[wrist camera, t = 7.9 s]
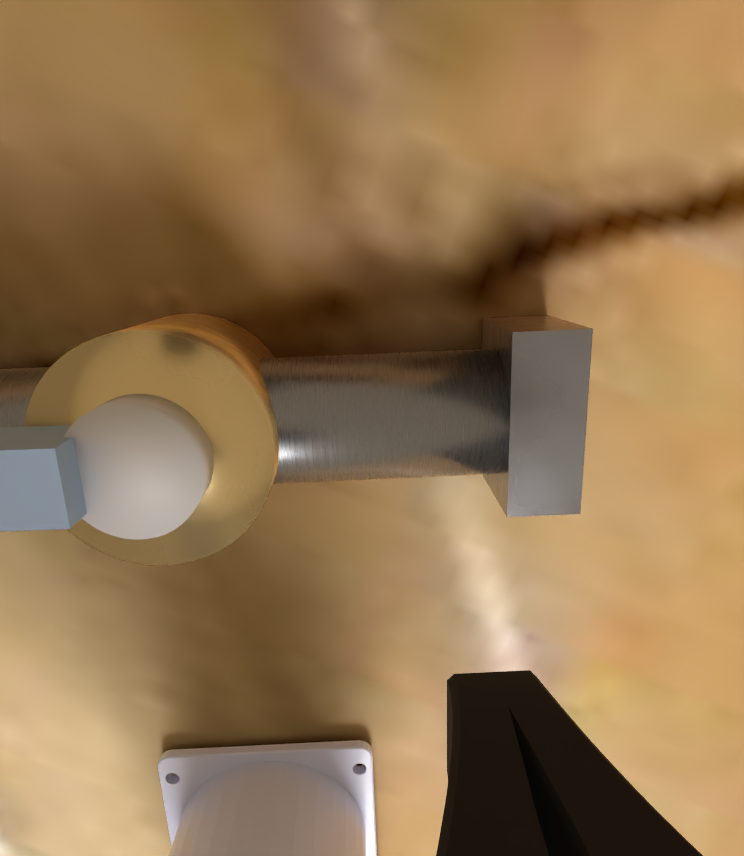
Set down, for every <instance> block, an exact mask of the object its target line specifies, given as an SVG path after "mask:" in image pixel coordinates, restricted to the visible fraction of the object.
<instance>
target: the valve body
mask: <svg viewBox="0 0 744 856" xmlns="http://www.w3.org/2000/svg"><path fill="white" fill-rule="evenodd" d="M592 333H593V329H592V328H588V327H585V326H581V325H578V324H575V323H571V322H568V321H565V320H561V319H558V318H555V317H551V316H548V315H544V316H519V317H494V318H483V321H482V349H476V350H451V351H427V352H403V353H379V354H354V355H330V356H306V357H282V358H276V357H275V356H274V355H273V354H272V352H271V351H270V350H269V349H268V348H267V347H266V346H265V345H264V344H263V343H262V342H261V341H260V340H259V339H258V338H257V337H256V336H254V335H253V334H252V333H250V332H249V331H247V330H246V329H244V328H242V327H241V326H239V325H237V324H235V323H233V322H230V321H228V320H226V319H222V318H219V317H216V316H212V315H205V314H196V313H184V314H175V315H170V316H166V317H162V318H159V319H155V320H152V321H149V322H145V323H142V324H139V325H135V326H132V327H129V328H126V329H122V330H119V331H116V332H112V333H109V334H106V335H102V336H99V337H96V338H94V339H91V340H89V341H86V342H84V343H82V344H80V345H78V346H77V347H75V348H73V349H71V350H70V351H68V352H67V353H66V354H64V355H63V356H62V357H61V358H59V359H58V360H57V361H56V362H55V363H54V364H53V365H52V366H51V367H39V368H15V369H0V428H2V427H32V426H62V425H72V424H73V423H74V422H75V421H76V420H77V419H79V418H80V417H81V416H83V415H84V414H86V413H88V412H90V411H91V410H93V409H95V408H97V407H98V406H100V405H102V404H104V403H105V402H107V401H109V400H111V399H114V398H116V397H119V396H123V395H127V394H149V395H155V396H159V397H162V398H165V399H168V400H170V401H172V402H174V403H176V404H178V405H180V406H181V407H182V408H184V409H185V410H187V411H188V412H189V413H190V414H191V415H192V416H193V417H194V418H195V419H196V420H197V421H198V422H199V424H200V425H201V426H202V428H203V429H204V431H205V432H206V435H207V437H208V439H209V441H210V444H211V447H212V452H213V459H214V467H213V475H212V479H211V482H210V485H209V487H208V489H207V491H206V493H205V494H204V496H203V497H202V499H201V501H200V502H199V504H198V505H197V507H196V508H195V510H194V511H193V513H192V514H191V515H190V517H189V518H188V519H187V520H186V521H185V522H184V523H183V524H182V525H180V526H179V527H177V528H176V529H175V530H173V531H171V532H169V533H167V534H164V535H162V536H159V537H155V538H150V539H141V540H136V539H125V538H119V537H116V536H112V535H109V534H107V533H104V532H102V531H100V530H98V529H96V528H94V527H93V526H91V525H90V524H88V523H87V522H86V521H85V520H83V519H82V518H81V519H80V520H79V521H78V522H77V523H76V524H75V525H74V526H73V527H72V528H71V529H67V530H68V531H70V532H71V533H72V534H73V535H75V536H76V537H77V538H78V539H80V540H81V541H83V542H85V543H86V544H88V545H89V546H91V547H93V548H95V549H97V550H99V551H101V552H103V553H105V554H107V555H110V556H112V557H115V558H118V559H121V560H125V561H129V562H133V563H138V564H146V565H176V564H184V563H188V562H192V561H197V560H200V559H202V558H205V557H208V556H211V555H213V554H214V553H216V552H218V551H220V550H222V549H224V548H225V547H227V546H228V545H230V544H231V543H233V542H234V541H236V540H237V539H238V538H239V537H240V536H241V535H242V534H243V533H244V532H245V531H246V530H247V529H248V528H249V527H250V525H251V524H252V523H253V522H254V521H255V519H256V518H257V516H258V514H259V513H260V511H261V509H262V508H263V506H264V503H265V501H266V499H267V496H268V494H269V491H270V489H271V486H272V484H277V483H299V482H322V481H344V480H367V479H390V478H412V477H435V476H458V475H480V474H482V475H483V476H484V478H485V480H486V482H487V483H488V485H489V487H490V489H491V490H492V492H493V494H494V495H495V497H496V499H497V501H498V502H499V504H500V506H501V507H502V509H503V511H504V513H505V514H506V516H507V517H519V516H541V515H563V514H580V510H581V495H582V480H583V466H584V451H585V436H586V422H587V407H588V392H589V377H590V363H591V348H592Z"/></svg>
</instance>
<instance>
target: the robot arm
mask: <svg viewBox="0 0 744 856" xmlns="http://www.w3.org/2000/svg"><path fill="white" fill-rule="evenodd" d="M359 763H360V764H364V765H362V766H357V765H356V764H359ZM158 773H159V778H160V784H161V790H162V795H163V801H164V807H165V812H166V818H167V824H168V829H169V835H170V841H171V847H172V848H171V851H170V854H169V856H377V844H376V823H375V801H374V780H373V758H372V748H371V746H370V745H369V744H368V743H367V742H365V741H361V740H353V741H333V742H313V743H293V744H273V745H253V746H233V747H213V748H194V749H174V750H168V751H165V752H164V753H163V754H162V755H161V757H160V759H159V762H158ZM171 773H175V774H177V775H173V774H171ZM447 773H448V789H447V796H446V803H445V808H444V814H443V820H442V826H441V832H440V838H439V844H438V850H437V855H436V856H703V855H702V854H701V853H700V852H698V851H697V850H696V849H695V848H694V847H693V846H692V845H691V844H690V843H689V842H688V841H687V840H686V839H685V838H684V837H683V836H682V835H681V834H680V833H679V832H678V831H677V830H676V829H675V828H674V827H673V826H672V825H671V824H669V823H668V822H667V821H666V820H665V819H664V818H663V817H662V816H661V815H660V814H659V813H658V812H657V811H656V810H655V809H654V808H653V807H652V806H651V805H650V804H649V803H648V802H647V801H646V800H645V798H644V797H643V796H642V795H641V794H640V793H639V792H638V791H637V790H636V789H635V788H634V787H633V786H632V785H631V784H630V783H629V782H628V781H627V780H626V779H625V778H624V776H623V775H622V774H621V773H620V772H619V771H618V770H617V769H616V768H615V767H614V766H613V765H612V764H611V763H610V761H609V760H608V759H607V758H606V757H605V756H604V755H603V754H602V753H601V752H600V751H599V750H598V748H597V747H596V746H595V745H594V744H593V743H592V742H591V741H590V739H589V738H588V737H587V736H586V735H585V734H584V733H583V731H582V730H581V729H580V728H579V727H578V726H577V725H576V723H575V722H574V721H573V720H572V719H571V718H570V716H569V715H568V714H567V713H566V712H565V711H564V709H563V708H562V707H561V706H560V705H559V703H558V702H557V701H556V700H555V699H554V698H553V696H552V695H551V694H550V693H549V691H548V690H547V689H546V688H545V687H544V685H543V684H542V683H541V682H540V681H539V679H538V678H537V677H536V676H535V675H534V674H533V673H532V672H531V671H530V670H529V671H508V672H487V673H466V674H454V675H453V676H451V677H450V678H449V679H448V680H447Z"/></svg>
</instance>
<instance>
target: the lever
mask: <svg viewBox="0 0 744 856" xmlns="http://www.w3.org/2000/svg"><path fill="white" fill-rule="evenodd" d="M213 467H214V459H213V452H212V447H211V444H210V441H209V439H208V437H207V435H206V432H205V431H204V429H203V428H202V426H201V425H200V424H199V422H198V421H197V420H196V419H195V418H194V417H193V416H192V415H191V414H190V413H189V412H188V411H187V410H185V409H184V408H182V407H181V406H180V405H178V404H176V403H174V402H172V401H170V400H168V399H165V398H162V397H159V396H155V395H149V394H127V395H123V396H119V397H116V398H114V399H111V400H109V401H107V402H105V403H104V404H102V405H100V406H98V407H97V408H95V409H93V410H91V411H90V412H88V413H86V414H84V415H83V416H81V417H80V418H79V419H77V420H76V421H75V422H74V423H73V424H72V425H62V426H32V427H2V428H0V532H3V531H31V530H58V529H71V528H72V527H73V526H74V525H75V524H76V523H77V522H78V521H79V520H80V519H81V518H82V519H83V520H85V521H86V522H87V523H88V524H90V525H91V526H93V527H94V528H96V529H98V530H100V531H102V532H104V533H107V534H109V535H112V536H116V537H119V538H125V539H136V540H141V539H150V538H155V537H159V536H162V535H164V534H167V533H169V532H171V531H173V530H175V529H176V528H177V527H179V526H180V525H182V524H183V523H184V522H185V521H186V520H187V519H188V518H189V517H190V515H191V514H192V513H193V511H194V510H195V508H196V507H197V505H198V504H199V502H200V501H201V499H202V497H203V496H204V494H205V493H206V491H207V489H208V487H209V485H210V482H211V479H212V475H213Z"/></svg>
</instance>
